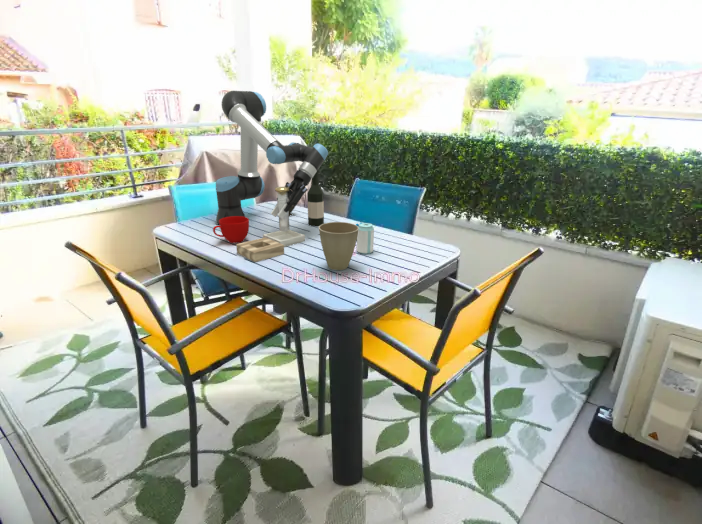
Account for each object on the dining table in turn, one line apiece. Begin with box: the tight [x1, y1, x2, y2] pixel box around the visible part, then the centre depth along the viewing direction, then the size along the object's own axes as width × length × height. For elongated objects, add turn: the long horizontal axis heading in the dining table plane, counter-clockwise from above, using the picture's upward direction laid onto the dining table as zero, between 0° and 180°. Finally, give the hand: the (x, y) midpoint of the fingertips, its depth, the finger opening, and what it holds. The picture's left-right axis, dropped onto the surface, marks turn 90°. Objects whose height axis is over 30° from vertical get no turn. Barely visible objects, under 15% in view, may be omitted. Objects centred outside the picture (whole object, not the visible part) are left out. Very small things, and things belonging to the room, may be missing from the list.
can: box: [356, 222, 375, 255], centre depth 166 cm, size 7×7×12 cm
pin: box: [274, 186, 291, 232], centre depth 174 cm, size 6×6×19 cm
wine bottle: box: [306, 169, 325, 227], centre depth 201 cm, size 8×8×30 cm
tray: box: [262, 229, 306, 248], centre depth 179 cm, size 14×14×3 cm
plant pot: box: [318, 221, 359, 271], centre depth 149 cm, size 15×15×16 cm
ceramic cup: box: [212, 216, 250, 244], centre depth 176 cm, size 13×17×10 cm
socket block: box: [235, 237, 285, 263], centre depth 163 cm, size 14×14×4 cm
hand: (276, 216), depth 173 cm, fingers closed on pin, 4 cm apart
